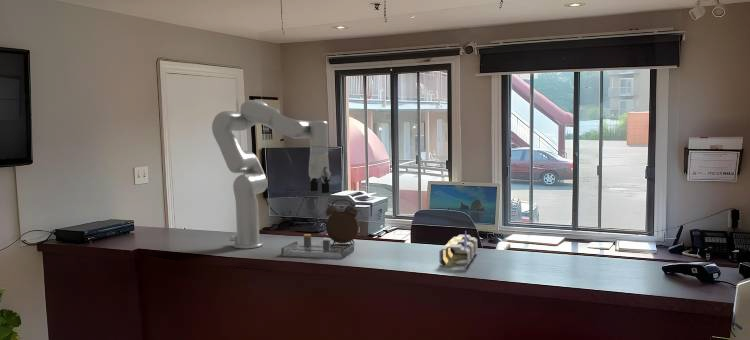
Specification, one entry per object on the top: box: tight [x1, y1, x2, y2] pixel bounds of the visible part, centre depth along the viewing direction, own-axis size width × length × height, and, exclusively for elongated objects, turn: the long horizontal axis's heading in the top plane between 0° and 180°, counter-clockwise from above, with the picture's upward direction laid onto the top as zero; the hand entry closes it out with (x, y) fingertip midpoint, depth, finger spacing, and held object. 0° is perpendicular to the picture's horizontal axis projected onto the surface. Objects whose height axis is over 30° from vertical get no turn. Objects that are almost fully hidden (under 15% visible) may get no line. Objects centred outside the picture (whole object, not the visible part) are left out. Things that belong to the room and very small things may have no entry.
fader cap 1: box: [303, 233, 312, 246], centre depth 228 cm, size 2×2×5 cm
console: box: [280, 241, 355, 260], centre depth 223 cm, size 26×14×3 cm, turn 75°
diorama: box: [438, 230, 478, 269], centre depth 207 cm, size 25×10×13 cm, turn 162°
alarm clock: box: [325, 198, 360, 245], centre depth 241 cm, size 15×7×20 cm, turn 84°
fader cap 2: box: [322, 237, 331, 251], centre depth 218 cm, size 2×2×5 cm
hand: (319, 191), depth 228 cm, fingers open, 9 cm apart
